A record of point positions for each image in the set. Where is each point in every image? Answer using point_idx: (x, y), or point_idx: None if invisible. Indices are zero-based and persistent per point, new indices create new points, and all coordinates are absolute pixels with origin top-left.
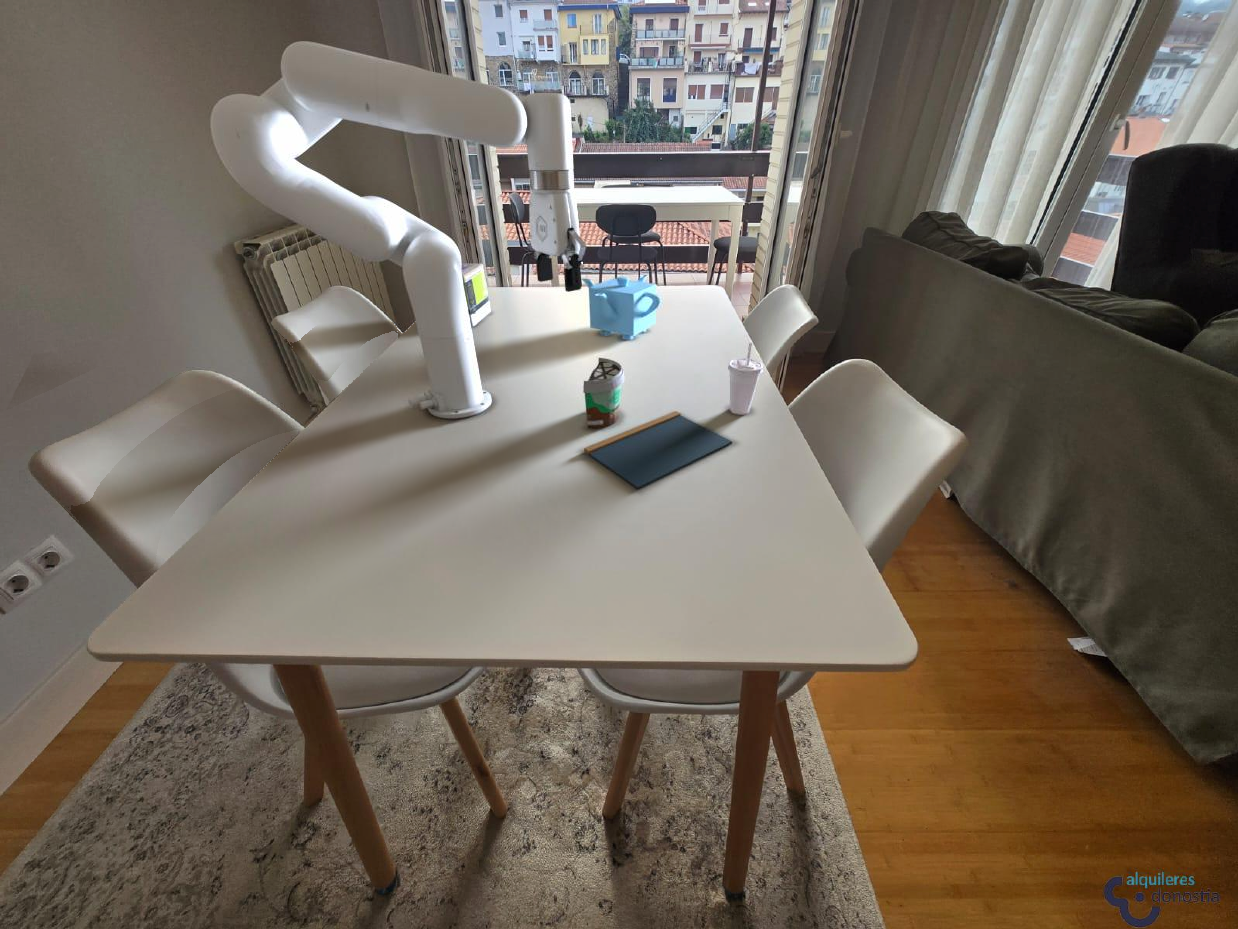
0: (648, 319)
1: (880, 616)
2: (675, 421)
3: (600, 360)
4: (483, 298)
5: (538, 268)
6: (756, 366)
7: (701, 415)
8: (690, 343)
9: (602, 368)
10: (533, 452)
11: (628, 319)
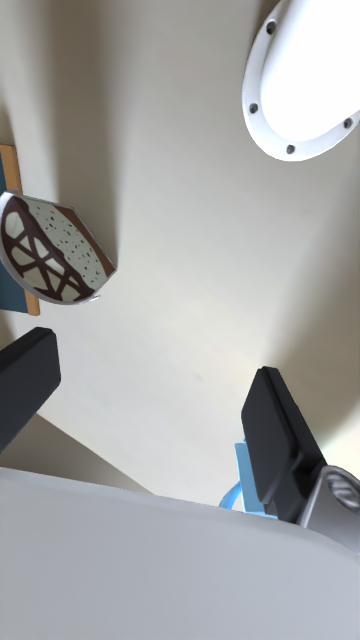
0: (239, 480)
1: None
2: (20, 297)
3: (88, 297)
4: None
5: (282, 410)
6: None
7: (23, 330)
8: (176, 460)
9: (62, 277)
10: (56, 75)
11: (247, 465)
